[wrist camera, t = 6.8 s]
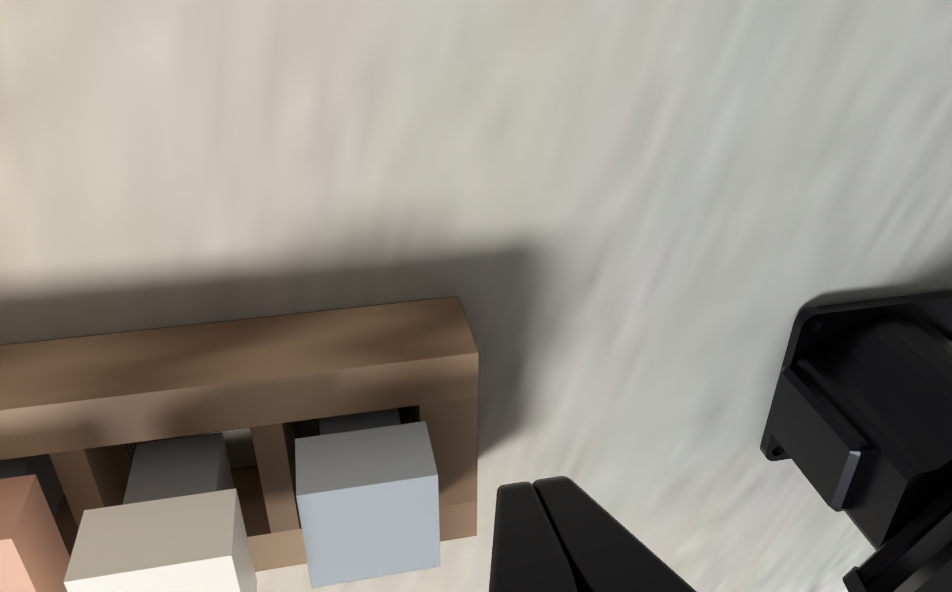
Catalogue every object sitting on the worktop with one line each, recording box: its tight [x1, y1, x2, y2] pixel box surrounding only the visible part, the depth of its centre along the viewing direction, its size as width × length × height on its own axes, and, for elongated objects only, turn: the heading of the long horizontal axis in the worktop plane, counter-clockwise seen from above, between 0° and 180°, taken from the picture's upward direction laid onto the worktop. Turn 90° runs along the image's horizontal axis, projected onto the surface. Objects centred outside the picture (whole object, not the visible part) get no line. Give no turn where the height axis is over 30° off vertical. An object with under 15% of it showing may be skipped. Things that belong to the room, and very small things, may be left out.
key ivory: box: [64, 432, 257, 592], centre depth 19 cm, size 3×3×5 cm
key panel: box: [0, 297, 479, 592], centre depth 22 cm, size 16×7×3 cm, turn 89°
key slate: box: [295, 408, 440, 588], centre depth 21 cm, size 3×3×5 cm
